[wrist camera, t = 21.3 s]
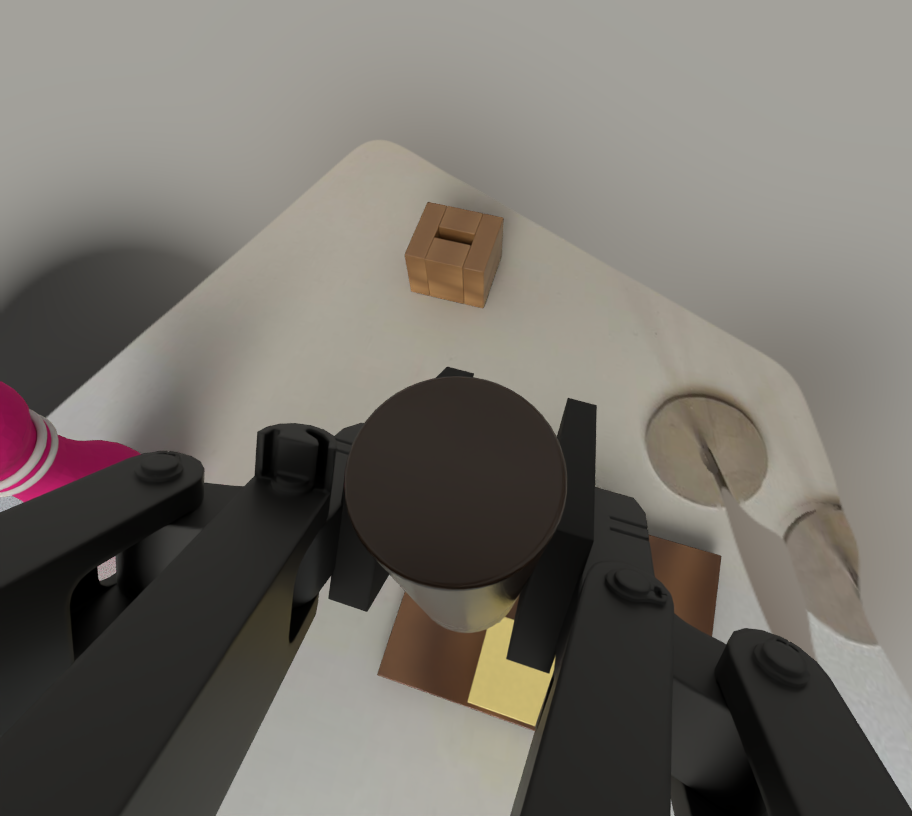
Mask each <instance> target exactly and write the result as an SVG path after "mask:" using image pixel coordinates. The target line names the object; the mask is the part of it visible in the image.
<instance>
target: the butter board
mask: <svg viewBox="0 0 912 816" xmlns="http://www.w3.org/2000/svg"><path fill="white" fill-rule="evenodd" d="M649 542H650V547H651V554H652V560H653V567H654V573H655V578H657V579H658V580H659V581H661V582H662V583H663V584H664V586H665V587H666V588H667V589H668V591H669V592H670V593H671V595H672V599H673V602H674V613H675V614H676V615H678V616H679V617H680V618H681V619H683V620H684V621H685V622H687V623H688V624H690V625H692V626H693V627H695V628H697V629H698V630H700V631H702V632H704V633H706V634H708V635H710V636H711V637H712V632H713V624H714V615H715V606H716V598H717V589H718V581H719V572H720V563H721V556H720V555H717V554H713V553H710V552H706V551H703V550H700V549H696V548H693V547H689V546H686V545H682V544H679V543H675V542H672V541H669V540H665V539H662V538H658V537H655V536H651V535H649ZM519 596H520V594H519ZM519 596H518V598H517V600H516V601H515V603H514V605H513V606H512V608H511V609H510V611H509V612H508V614H507V615H506V616H505V617H507V618H510V619H513V620H514V619H515V614H516V610H517V605H518V600H519ZM486 631H487V629H486V630H483V631H479V632H474V633H461V632H455V631H451V630H449V629H446V628H444V627H442V626H441V625H439V624H437V623H436V622H435V621H433V620H432V619H431V618H430V617H429V616H428V615H427V614H426V613H425V612H424V610H423V609H422V608H421V607H420V606H419V605H418V604H417V603H416V602H415V601H414V600H413V599H412V598H411V597H410V596H409V595H408V594H407V592H406V591H405V593H404V596H403V599H402V602H401V605H400V608H399V611H398V614H397V617H396V620H395V623H394V626H393V629H392V632H391V635H390V638H389V641H388V644H387V647H386V650H385V653H384V656H383V659H382V662H381V665H380V668H379V671H378V674H377V675H379V676H381V677H384V678H387V679H390V680H393V681H395V682H398V683H401V684H404V685H407V686H409V687H412V688H415V689H418V690H421V691H423V692H426V693H429V694H432V695H434V696H437V697H440V698H443V699H446V700H448V701H451V702H454V703H457V704H460V705H462V706H465V707H468V708H471V709H474V710H476V711H479V712H482V713H485V714H488V715H490V716H493V717H496V718H499V719H502V720H504V721H507V722H510V723H513V724H516V725H518V726H521V727H524V728H527V729H530V730H532V731H535V726H533V725H530V724H527V723H524V722H522V721H519V720H516V719H513V718H510V717H508V716H505V715H502V714H499V713H496V712H494V711H491V710H488V709H485V708H482V707H480V706H477V705H474V704H471V703H468V697H469V694H470V690H471V686H472V683H473V679H474V675H475V672H476V668H477V664H478V660H479V657H480V653H481V649H482V646H483V642H484V638H485V635H486Z"/></svg>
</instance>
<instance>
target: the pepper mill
mask: <svg viewBox="0 0 912 816" xmlns="http://www.w3.org/2000/svg"><path fill="white" fill-rule="evenodd" d="M137 455H140V453H139V452H137V451H135V450H133V449H131V448H129V447H127V446H124V445H122V444H119V443H115V442H109V441H103V440H92V441H76V440H71V439H67V438H65V437H62V436H60V435H58V434H57V431H56V429H55V427H54V426H53V424H52V423H51V422H50V421H49V420H48V419H46V418H45V417H43V416H40V415H38V414H37V413H35V412H34V411H32V410H30V409H29V408H28V405H27V404H26V402H25V401H24V399H23V398H22V397H21V396H20V395H19V394H18V393H17V392H16V391H15V390H14V389H13V388H11V387H9V386H8V385H6V384H4V383H3V382H1V381H0V497H7V496H11V495H12V496H14V497H16V498H18V499H20V500H22V501H23V502H26V501H29V500H31V499H33V498H36V497H38V496H40V495H43V494H45V493H47V492H50V491H52V490H54V489H57V488H59V487H62V486H64V485H66V484H69V483H71V482H73V481H76V480H78V479H80V478H83V477H85V476H87V475H90V474H92V473H94V472H97V471H99V470H102V469H104V468H106V467H109V466H111V465H113V464H116V463H118V462H120V461H123V460H125V459H127V458H130V457H134V456H137Z"/></svg>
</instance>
